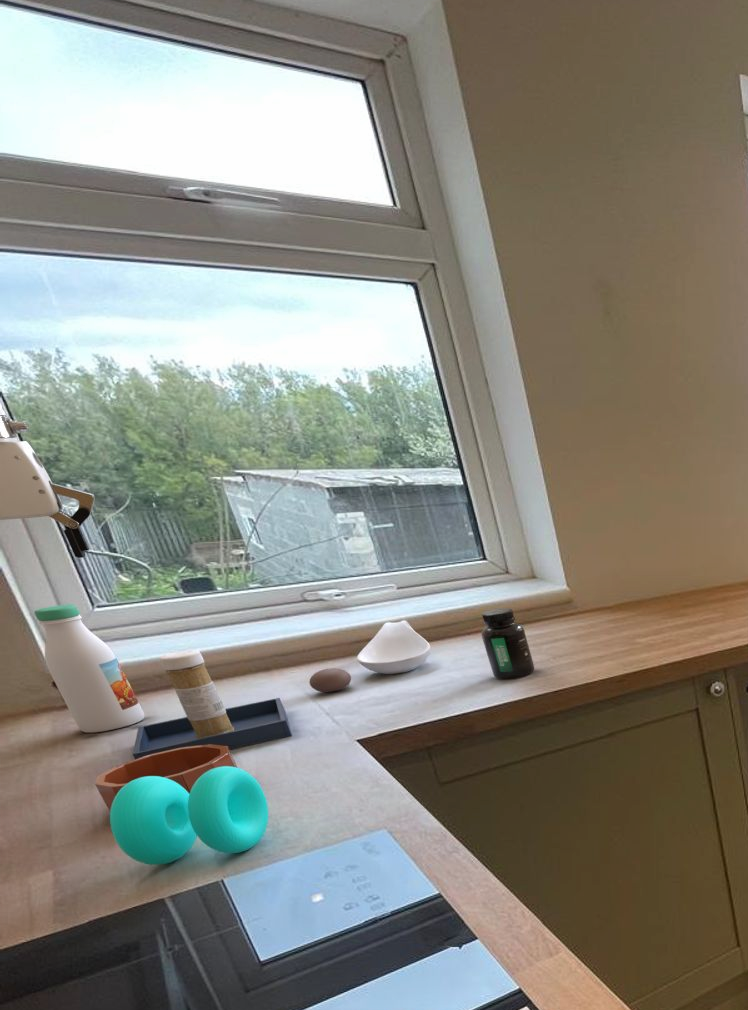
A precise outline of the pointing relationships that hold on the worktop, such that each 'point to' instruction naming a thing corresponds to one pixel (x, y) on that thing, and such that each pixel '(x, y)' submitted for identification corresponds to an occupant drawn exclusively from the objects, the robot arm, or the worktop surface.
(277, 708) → the tray
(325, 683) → the egg
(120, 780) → the bowl
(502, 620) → the supplement bottle
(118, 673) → the milk bottle
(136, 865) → the worktop surface
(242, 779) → the donuts
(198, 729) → the sprinkles bottle
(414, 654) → the spoon rest
